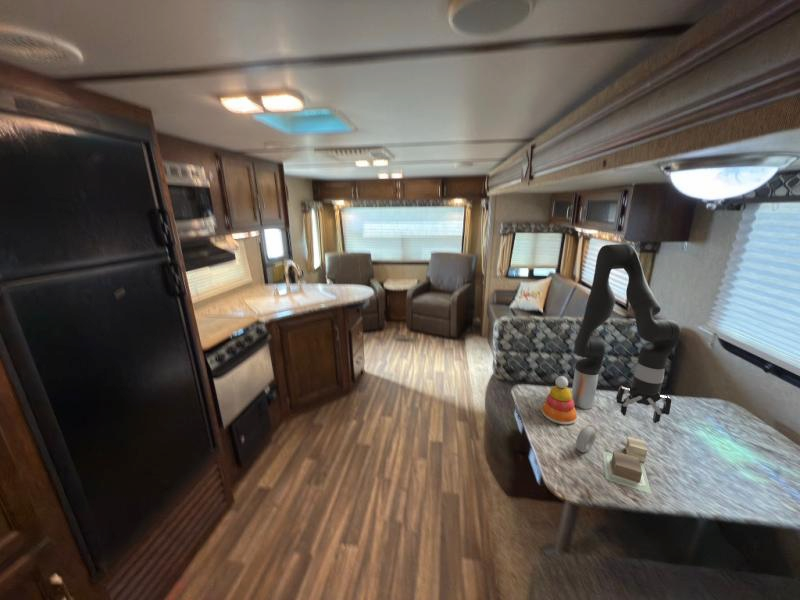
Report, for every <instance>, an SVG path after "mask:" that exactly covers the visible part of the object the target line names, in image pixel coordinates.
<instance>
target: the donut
mask: <svg viewBox="0 0 800 600" xmlns="http://www.w3.org/2000/svg"><path fill="white" fill-rule="evenodd" d="M596 437H597V433H596V429H594V427H592V426H585V427H583V428H581V430H580V431H579V433H578V435H577V437H576V441H575V448H576V449H577V450H578V451H579V452H581V453H588V451H590V450H591V448H592V447H593V445H594V443H595V441H596Z"/></svg>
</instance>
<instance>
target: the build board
mask: <svg viewBox="0 0 800 600" xmlns="http://www.w3.org/2000/svg"><path fill="white" fill-rule="evenodd" d="M612 456H613V452H612V453H611V452H608V451H604V450H602V457H603V465H604V474H605V480H607V481H611V482H613V483H616V484H620V485H623V486H625V487H628V488H632V489H634V490H638V491H640V492H644V493H647V494H650V495H653V493H652V491H651V490H652V489H651V487H650V483H649V479H648V476H647V472H646V469H645V465H644V462H642V461H639V462H640V466H641V470H642V476H641V480H640V482H637V481H634V480H630V479H627V478H624V477H621V476H618V475H615V474H614V471H613V465H612Z"/></svg>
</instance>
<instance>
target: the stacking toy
mask: <svg viewBox="0 0 800 600" xmlns="http://www.w3.org/2000/svg"><path fill="white" fill-rule="evenodd" d="M568 386H569V380H568V378H567V377H565V376H563V375H560V376H558V377H557V378H556V379H555V385H553V387H552V388H551V389H550V392H549V394H548V395H547V397H546V400H545V402H544V403H543V405H542V406H541V408H540V409H541V410H540V411H541V413H542V415H544V417H545V418H546V419H548V420H549V421H551V422H553V423H556V424H560V425H573V424H574V423H576V422H577V421H578V419H579V416H578V415H579V414H578V413H577V410H576V408H575V407H576V406H575V405H574V401H573V399H572V390H571V389H570V388H569V387H568Z"/></svg>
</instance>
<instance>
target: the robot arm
mask: <svg viewBox="0 0 800 600" xmlns="http://www.w3.org/2000/svg"><path fill="white" fill-rule="evenodd" d="M619 269H620V270H622V269H623V270H624V271H625V272H626V274H627V277H628V282H627V287H626V291H625V294H626V296H625V297H626V299H627V302H628V303H629V306H630V307H631V309H632V311H633V313H634V317H635V324H636V332H637V333H638V335H639V337H640V338H641V339H642V340H644V341H645V342H648V343H650V344H646V345H643V346H642V347H641V348H640V350H639V354H638V357H637V362H636V365H635V368H634V372H633V377H632V381H631V386H630V387H625V386H624V385H619V386H618V390H617V394H616V396H615V397H616V398H615V400H616V403H617V404H620V413H621V414H622V416H626V415H627V410H628V406H629V405H633V404H634V403H636V404H639V405H640V404H641V405H645V406H651V407H652V408H653V410H654V412H653V417H652V423H653V424H657V423H659V422H660V421H661V417H662V415H666V416H668V415H670V411H671V404H672V398H671V396H670V395H668V394H666V395H662V394H661V389H662V386H663V382H664V379H665V369H666V368H665V367H666V365H667V361H668V357H669V355H670V354H671V353H672V351H673V350H674V348H675V347H676V344H677V343H678V342H679V340H680V338H681V335H682V334H681V326H680V325H679V323H677V322H676V321H675V320H672V319H655V318H653V317H654V316H656V315H658V314H659V313H660V312H661V306H660V304H659V302H658V301H657V299H656V296H655V295H654V293H653V292H652V290H651V288H650V286H649V284H648V281H647V279H646V277H645V276H646V275H645V273H644V269H643V267H642V263H641V261H640V258H639V254H638V253H637V251H636V248H635V247H634V246H633V245H631V244H628V243H618V244H617V243H616V244H605V245H602V246H601V247H600V249H599V250H598V252H597V257H596V262H595V269H594V275H593V280H592V284H591V288H590V292H589V295H588V299H587V302H586V305H585V306H586V307H585V311H584V315H583V318H582V320H581V321H582V322H581V324H580V328H579V330H578V333H577V336H576V338H575V341H574V345H573V346H574V349H573V351H574V353H575V355H576V356H578V357H581V358H583V359H580V360H578V361H576V362H575V368H574V376H573V380H572V387H571V388H572V389H571V393H572V399H573V401H574V407H577V408H579V409H583V410H584V409H585V410H590V409H592V408H593V407H594V404H595V398H596V392H597V386H598V380H599V376H600V370H601V368H602V366H603V361H604V357H605V354H606V342H605V340H604V338H602V337H600V336H592V334H593V333H594V332H595V331H596V330H597V329H598V328H599V327H600V326H601V325H603V324H604V323H605V322H607V320H609V318H610V317H611V316H612V314H613V310H614V307H615V304H616V297H615V294H614V292H613V290H612V287H611V285H610V282H609V281H610V274H611V272H612V270H619ZM627 393H628V394H629V395H627V396H626V397H625V398H623V396H624V395H626V394H627ZM660 394H661V395H660ZM660 400H661V402H662V403H663V406H662V408H661V407H660V406H659V405H658V403H657V402H659V401H660Z"/></svg>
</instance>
